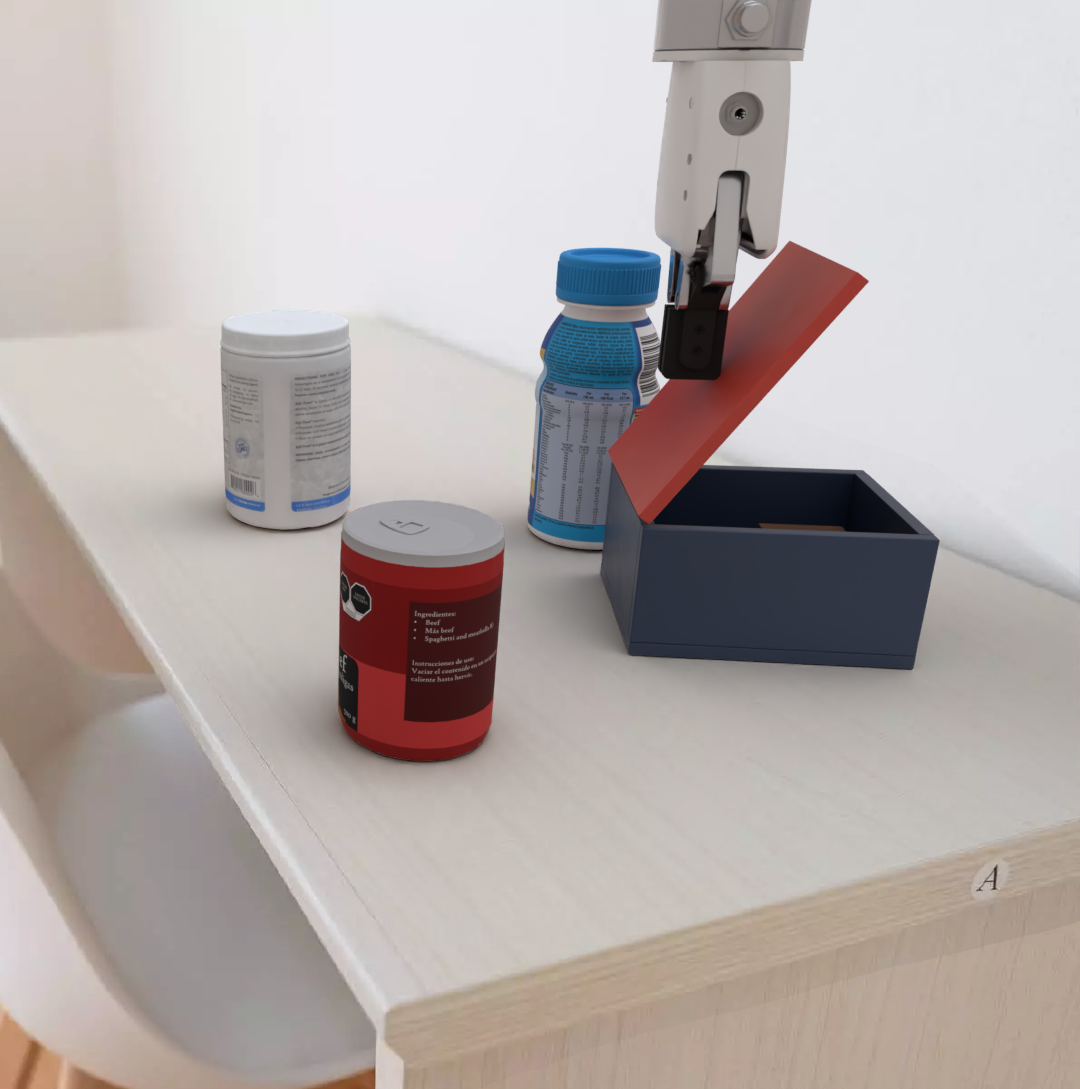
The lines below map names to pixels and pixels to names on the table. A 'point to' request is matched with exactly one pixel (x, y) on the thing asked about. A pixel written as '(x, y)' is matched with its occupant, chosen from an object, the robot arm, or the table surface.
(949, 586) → the table surface
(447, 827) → the table surface
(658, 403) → the lid
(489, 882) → the table surface
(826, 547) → the storage box
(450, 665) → the canned food
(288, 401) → the supplement tub
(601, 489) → the beverage bottle
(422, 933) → the table surface
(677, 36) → the robot arm
